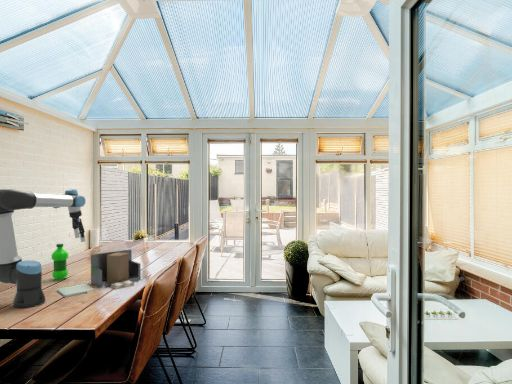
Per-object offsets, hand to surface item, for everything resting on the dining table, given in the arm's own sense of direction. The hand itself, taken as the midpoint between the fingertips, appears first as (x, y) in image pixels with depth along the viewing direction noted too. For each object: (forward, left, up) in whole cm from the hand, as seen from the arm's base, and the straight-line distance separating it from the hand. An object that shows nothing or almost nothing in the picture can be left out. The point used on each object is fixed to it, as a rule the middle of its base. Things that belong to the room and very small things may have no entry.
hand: (80, 239), depth 240 cm
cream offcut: (+13, -42, -27) cm, 51 cm away
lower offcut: (+13, -42, -29) cm, 52 cm away
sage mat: (-11, -28, -28) cm, 41 cm away
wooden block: (+15, -29, -29) cm, 43 cm away
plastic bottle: (-10, +12, -28) cm, 32 cm away
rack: (+15, -28, -28) cm, 42 cm away
